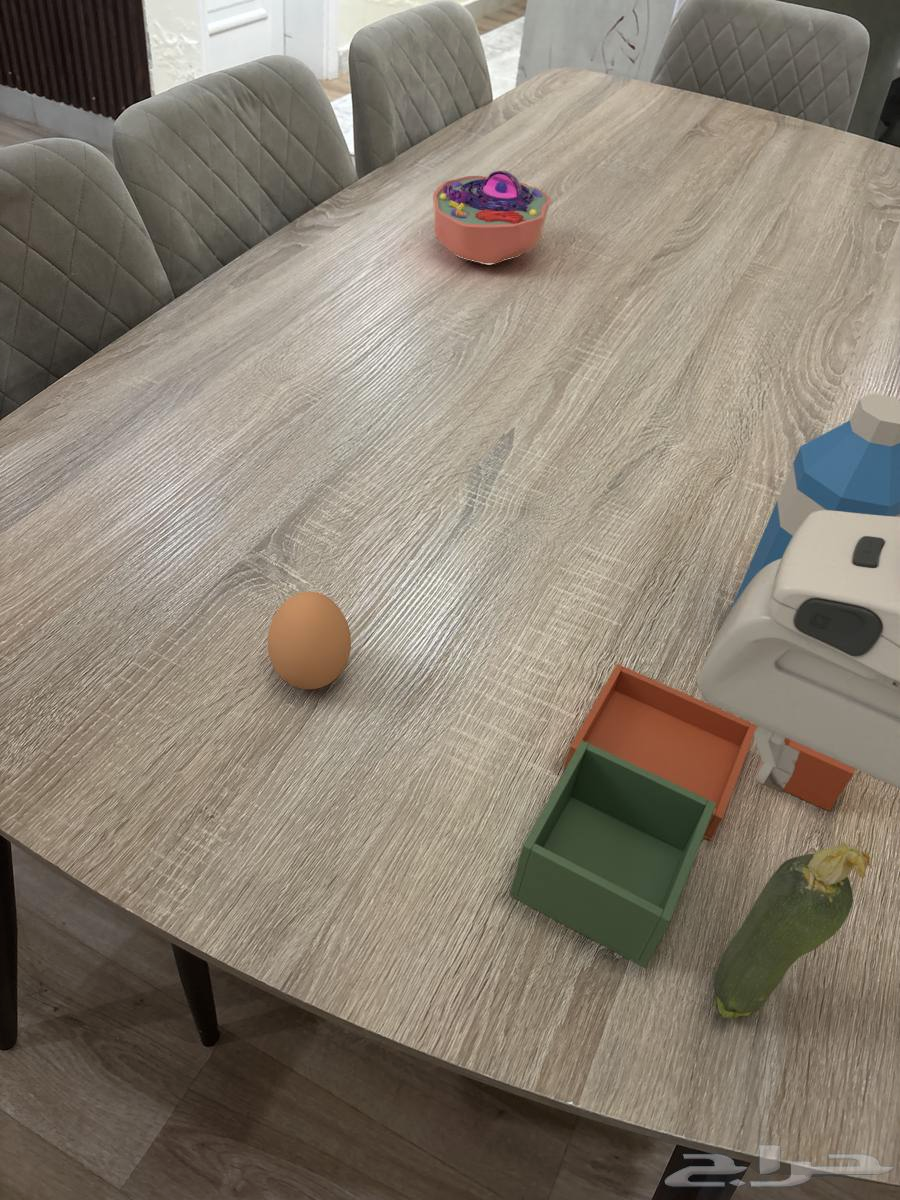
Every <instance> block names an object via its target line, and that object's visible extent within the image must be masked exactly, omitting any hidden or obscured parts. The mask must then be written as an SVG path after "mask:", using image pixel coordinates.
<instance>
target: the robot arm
mask: <svg viewBox="0 0 900 1200" xmlns="http://www.w3.org/2000/svg"><path fill="white" fill-rule="evenodd" d="M731 608H732V609H731ZM731 608H730V610H731V611H730V610H729V612H728V613H727V615H726V617H725V619H724V621H723V622H722V624H721V626H720V628H719V629H718V632H717V634H716V636H715V638H714V640H713V641H712V644H711V646H710V648H709V650H708V652H707V654H706V656H705V658H704V660H703V662H702V665H701V666H700V669H699V672H698V674H697V676H696V679H695V681H696V685H697V687H698V689H699V692H700V694H701V696H702V698H703V699H704V702H705V703H708V704H710V705H712V706H715V707H717V708H719V709H721V710H724V711H726V712H728V713H730V714H733V715H735V716H737V717H740V718H742V719H744V720H746V721H749V722H750V723H753V724H755V725H757V726H756V729H755V731H754V734H753V735H754V737H753V739H754V741H755V744H756V748H757V751H758V754H759V757H760V761H759V765H758V767H757V770H756V773H755V775H754V778H753V780H754V782H757V783H759V784H762V785H764V786H766V787H768V788H771V789H773V790H775V791H777V792H779V793H783V792H784V791H783V790H784V788H785V785H786V784H787V783H788V782H789V780H790V778H791V776H792V774H793V771H794V768H795V763H796V761H797V759H798V756H799V752H800V751H798V750H796V749H794V748H792V747H790V746H787V745H785V742H784V740H785V738H787V739H790V740H792V741H794V742H796V743H799V744H801V745H803V746H805V747H807V748H810V749H812V750H814V751H816V752H819V753H821V754H823V755H825V756H828V757H830V758H832V759H834V760H836V761H839V762H841V763H843V764H845V765H848V766H850V767H852V768H854V769H855V770H857V771H859V772H861V773H864V774H866V775H868V776H870V777H872V778H875V779H877V780H879V781H880V782H883V783H886V784H888V785H890V786H892V787H894V788H896V789H899V790H900V517H894V516H881V515H870V514H860V513H851V512H842V511H832V510H820V511H815V512H812V513H810V514H809V515H808V516H807V517H806V519H805V520H804V521H803V522H802V524H801V525H800V526H799V528H798V529H797V531H796V532H795V534H794V535H793V537H792V539H791V541H790V542H789V544H788V546H787V548H786V550H785V552H784V554H783V557H782V558H781V559H778V560H776V561H774V562H772V563H770V564H768V565H767V566H765V567H764V568H763V569H762V570H761V571H759V572H758V573H757V575H756V576H755V577H754V578H753V579H752V580H751V582H750V583H749V584H748V586H747V587H746V588H745V590H744V591H743V593H742V594H741V595H740V597H739V598H738V600H737V601H736V603H735V604H734V606H733V607H732V606H731Z"/></svg>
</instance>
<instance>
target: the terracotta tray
mask: <svg viewBox="0 0 900 1200" xmlns="http://www.w3.org/2000/svg"><path fill="white" fill-rule="evenodd" d="M756 726H757V725H756V724H754V723H752V722H749V721H747V720H745V719H743V718H740V717H738V716H736V715H734V714H731V713H729V712H727V711H725V710H722V709H720V708H718V707H715V706H713V705H711V704H709V703H708V702H706V701H703V700H701V699H699V698H696V697H694V696H692V695H690V694H687V693H685V692H683V691H680V690H678V689H676V688H675V687H671V686H669V685H666V684H665V683H662V682H660V681H658V680H655V679H654V678H651V677H648V676H647V675H644V674H642V673H639V672H637V671H635V670H633V669H631V668H628V667H625V666H624V665H622V664H620V663H616V664H615V666H614V668H613V669H612V672H611V673H610V675H609V677H608V679H607V680H606V682H605V683H604V686H603V687H602V689H601V691H600V693H599V694H598V696H597V698H596V699H595V702H594V703H593V705H592V707H591V708H590V710H589V712H588V714H587V715H586V717H585V719H584V721H583V722H582V724H581V726H580V728H579V730H578V731H577V733H576V735H575V737H574V739H573V740H572V742H571V744H570V745H569V747H568V748H569V749H568V752H567V755H566V759H565V762H564V765H563V770H564V771H565V769H566V767H567V766H568V764H569V762H570V760H571V758H572V757H573V755H574V753H575V751H576V750H577V748H578V746H579V744H580V742H581V741H582V740H583V741H585V742H587V743H589V744H592V745H594V746H596V747H598V748H600V749H602V750H604V751H606V752H609V753H611V754H613V755H615V756H617V757H619V758H621V759H623V760H626V761H628V762H630V763H632V764H634V765H636V766H638V767H640V768H643V769H645V770H647V771H649V772H651V773H653V774H655V775H657V776H660V777H662V778H664V779H666V780H668V781H670V782H672V783H674V784H677V785H679V786H681V787H683V788H685V789H687V790H689V791H691V792H694V793H696V794H698V795H700V796H702V797H704V798H706V799H708V800H710V801H712V802H714V803H716V806H715V809H714V811H713V814H712V816H711V819H710V821H709V824H708V826H707V829H706V832H705V834H704V837H703V838H704V839H707V840H709V841H712V839H713V838H714V836H715V834H716V833H717V830H718V828H719V826H720V825H721V823H722V821H723V820H724V817H725V814H726V811H727V809H728V806H729V803H730V801H731V798H732V796H733V793H734V790H735V788H736V785H737V783H738V780H739V777H740V774H741V771H742V769H743V766H744V764H745V761H746V758H747V757H748V756H747V755H748V753H749V751H750V749H751V745H752V744H753V740H754V735H753V734H754V731H755V729H756Z"/></svg>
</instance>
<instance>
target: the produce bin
mask: <svg viewBox="0 0 900 1200" xmlns="http://www.w3.org/2000/svg"><path fill="white" fill-rule="evenodd" d="M715 806H716V803H714V802H712V801H710V800H708V799H706V798H704V797H702V796H700V795H698V794H696V793H694V792H691V791H689V790H687V789H685V788H683V787H681V786H679V785H677V784H674V783H672V782H670V781H668V780H666V779H664V778H662V777H660V776H657V775H655V774H653V773H651V772H649V771H647V770H645V769H643V768H640V767H638V766H636V765H634V764H632V763H630V762H628V761H626V760H623V759H621V758H619V757H617V756H615V755H613V754H611V753H609V752H606V751H604V750H602V749H600V748H598V747H596V746H594V745H592V744H589V743H587V742H585V741H583V740H582V741H581V742H580V744H579V746H578V748H577V750H576V751H575V753H574V755H573V757H572V758H571V760H570V762H569V764H568V766H567V767H566V769H565V770H564V771H563V773H562V775H561V776H560V778H559V780H558V782H557V784H556V785H555V787H554V789H553V790H552V793H551V794H550V796H549V798H548V800H547V802H546V803H545V805H544V807H543V808H542V811H541V812H540V814H539V816H538V817H537V819H536V821H535V823H534V825H533V827H532V828H531V830H530V832H529V834H528V836H527V837H526V839H525V841H524V843H523V844H522V847H521V851H520V855H519V859H518V862H517V865H516V869H515V873H514V876H513V880H512V883H511V887H510V891H509V893H508V895H509V896H510V897H511V898H513V899H515V900H517V901H519V902H521V903H523V904H525V905H526V906H528V907H530V908H532V909H534V910H536V911H538V912H540V913H542V914H543V915H546V916H547V917H549V918H551V919H553V920H555V921H557V922H558V923H561V924H562V925H564V926H566V927H568V928H570V929H572V930H573V931H575V932H577V933H578V934H580V935H583V936H585V937H587V938H589V939H590V940H592V941H594V942H596V943H598V944H599V945H601V946H603V947H605V948H607V949H609V950H611V951H612V952H615V953H617V954H618V955H620V956H622V957H623V958H626V959H628V960H629V961H631V962H633V963H635V964H637V965H639V966H641V967H643V968H645V969H646V968H647V966H648V964H649V963H650V960H651V958H652V956H653V955H654V953H655V951H656V949H657V947H658V945H659V943H660V941H661V940H662V938H663V936H664V934H665V932H666V930H667V929H668V926H669V925H670V923H671V921H672V919H673V916H674V913H675V910H676V908H677V906H678V903H679V901H680V898H681V895H682V893H683V890H684V888H685V885H686V883H687V880H688V878H689V875H690V872H691V870H692V867H693V865H694V862H695V860H696V857H697V854H698V852H699V849H700V847H701V844H702V842H703V839H704V838H705V837H704V834H705V832H706V829H707V826H708V824H709V821H710V819H711V816H712V814H713V811H714V809H715Z"/></svg>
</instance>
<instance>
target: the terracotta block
mask: <svg viewBox="0 0 900 1200" xmlns="http://www.w3.org/2000/svg"><path fill="white" fill-rule="evenodd" d="M784 742H785V745H787V746H790V747H792V748H794V749H796V750H798V751H800V752H799V756H798V759H797V761H796V763H795V768H794V771H793V774H792V776H791V778H790V780H789V782H788V783H787V784H786V785H785V788H784V790H783V791H782V792H786V793H788V794H790V795H792V796H795V797H797V798H798V799H801V800H803V801H805V802H808V803H809V804H812V805H814V806H816V807H818V808H821V809H823V810H825V811H827V812H830V811H831V810H832V808H833V806H834V805H835V804H836V802H837V800H838V799H839V797H841V795H842V793H843V791H844V790H845V789H846V787H847V786H848V784H849V782H850V781H851V779H852V778H853V776H854V775H855V772H856V769H854V768H852V767H850V766H848V765H845V764H843V763H841V762H839V761H836V760H834V759H832V758H830V757H828V756H825V755H823V754H821V753H819V752H816V751H814V750H812V749H810V748H807V747H805V746H803V745H801V744H799V743H796V742H794V741H792V740H790V739H787V738H785V740H784Z"/></svg>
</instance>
